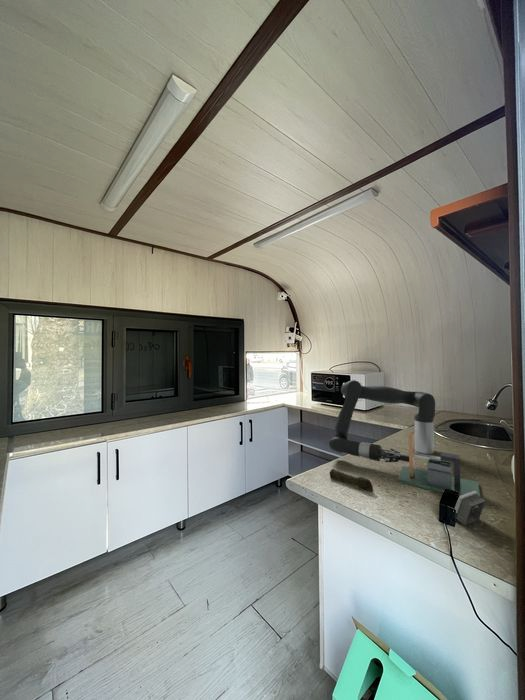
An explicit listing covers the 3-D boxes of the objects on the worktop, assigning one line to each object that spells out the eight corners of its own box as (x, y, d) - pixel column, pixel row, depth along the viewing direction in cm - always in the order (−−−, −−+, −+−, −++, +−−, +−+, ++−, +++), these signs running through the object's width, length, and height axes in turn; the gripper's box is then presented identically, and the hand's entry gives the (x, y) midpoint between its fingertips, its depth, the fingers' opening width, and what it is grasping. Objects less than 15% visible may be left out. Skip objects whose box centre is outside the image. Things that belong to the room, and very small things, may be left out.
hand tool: (329, 479, 119) (328, 468, 120) (334, 476, 122) (333, 466, 122) (369, 495, 105) (369, 484, 105) (374, 492, 108) (374, 480, 108)
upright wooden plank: (411, 471, 122) (410, 431, 123) (441, 477, 115) (440, 436, 116) (409, 476, 117) (408, 435, 118) (440, 483, 111) (439, 439, 111)
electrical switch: (468, 512, 93) (470, 487, 92) (485, 522, 88) (487, 496, 87) (450, 519, 89) (452, 493, 88) (467, 530, 84) (470, 502, 84)
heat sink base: (403, 468, 129) (403, 441, 129) (477, 484, 112) (477, 454, 112) (397, 481, 116) (397, 451, 116) (480, 502, 99) (479, 467, 99)
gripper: (366, 447, 125) (407, 455, 115) (373, 440, 136) (412, 446, 125) (366, 463, 125) (408, 473, 115) (373, 454, 135) (412, 462, 125)
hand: (410, 459), depth 120 cm, fingers closed
